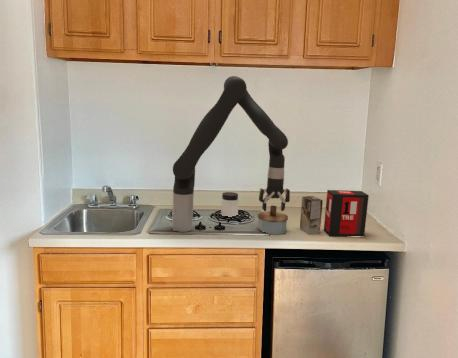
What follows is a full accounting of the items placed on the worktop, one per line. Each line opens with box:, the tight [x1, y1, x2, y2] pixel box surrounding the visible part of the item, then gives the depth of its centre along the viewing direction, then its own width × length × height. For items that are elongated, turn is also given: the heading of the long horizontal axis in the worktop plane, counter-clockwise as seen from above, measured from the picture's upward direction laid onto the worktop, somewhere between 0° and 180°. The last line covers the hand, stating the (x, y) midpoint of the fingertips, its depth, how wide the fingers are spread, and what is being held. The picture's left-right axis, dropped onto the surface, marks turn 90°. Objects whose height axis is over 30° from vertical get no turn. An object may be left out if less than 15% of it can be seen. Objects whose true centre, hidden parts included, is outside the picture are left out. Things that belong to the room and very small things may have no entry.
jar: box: [220, 191, 240, 217], centre depth 221 cm, size 9×8×12 cm
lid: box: [257, 205, 289, 222], centre depth 200 cm, size 14×14×6 cm
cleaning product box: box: [323, 189, 370, 238], centre depth 200 cm, size 16×9×20 cm, turn 94°
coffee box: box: [299, 195, 324, 235], centre depth 202 cm, size 9×6×16 cm
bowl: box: [258, 218, 288, 235], centre depth 201 cm, size 12×12×6 cm
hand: (273, 210), depth 200 cm, fingers open, 8 cm apart
